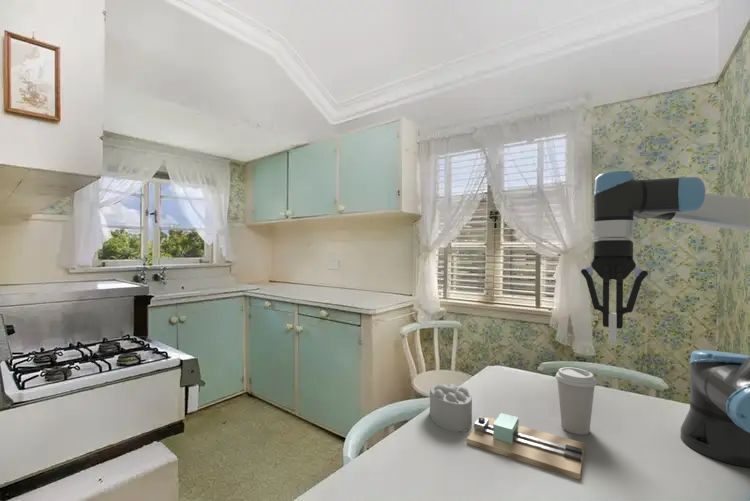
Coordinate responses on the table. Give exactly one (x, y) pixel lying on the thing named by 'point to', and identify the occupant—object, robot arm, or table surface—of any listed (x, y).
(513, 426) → the mint sliding carriage
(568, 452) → the slide rail
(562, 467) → the board
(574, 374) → the coffee cup
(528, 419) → the table surface
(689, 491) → the table surface
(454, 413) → the lumpy-topped squat cylinder
